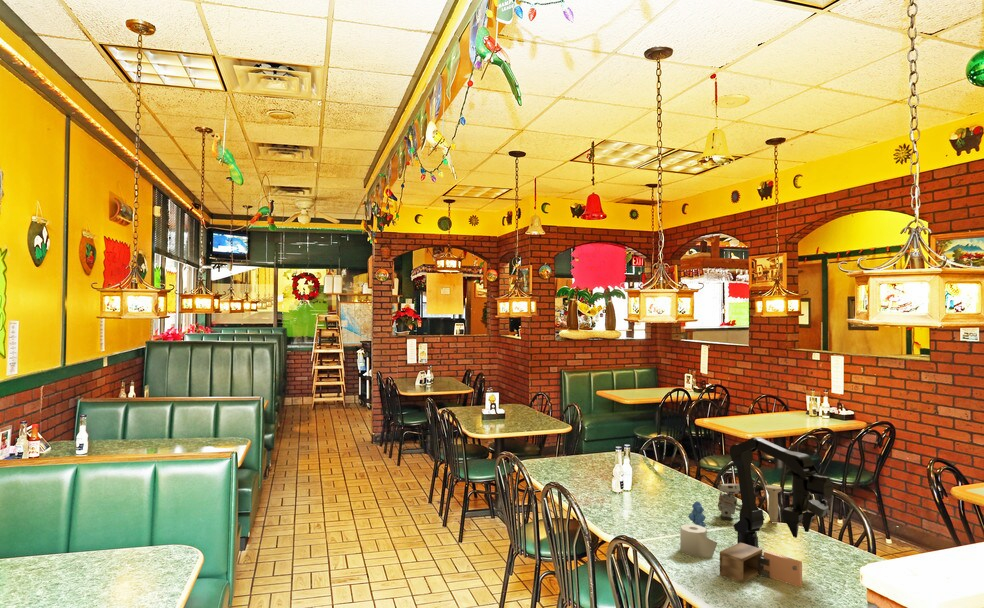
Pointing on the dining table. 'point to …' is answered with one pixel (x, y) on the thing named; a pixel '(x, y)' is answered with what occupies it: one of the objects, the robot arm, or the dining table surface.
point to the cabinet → (739, 562)
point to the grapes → (697, 514)
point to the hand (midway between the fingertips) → (801, 534)
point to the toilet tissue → (696, 541)
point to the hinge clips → (761, 563)
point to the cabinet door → (784, 568)
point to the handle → (773, 502)
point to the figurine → (728, 500)
